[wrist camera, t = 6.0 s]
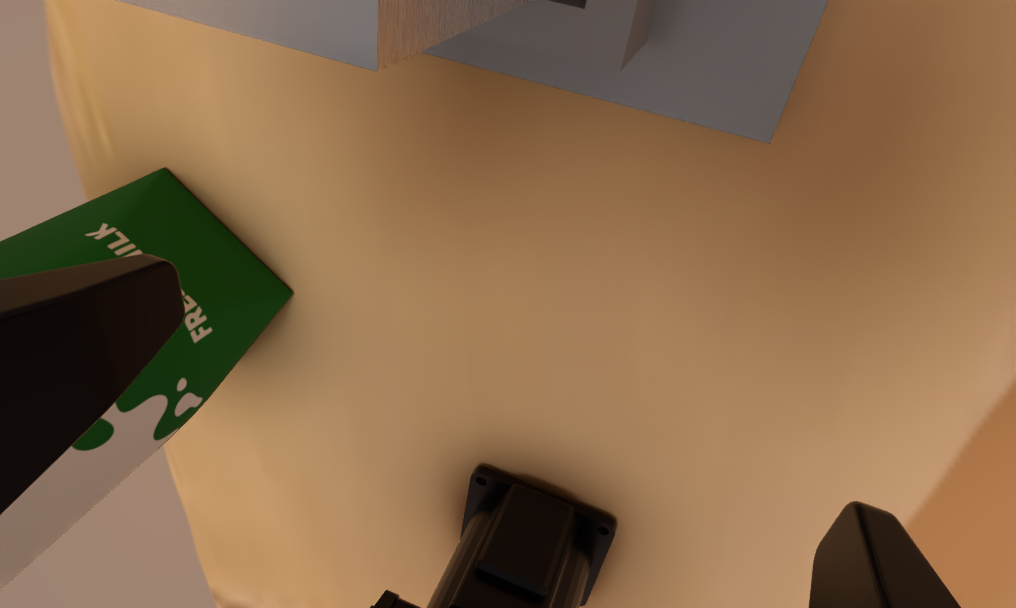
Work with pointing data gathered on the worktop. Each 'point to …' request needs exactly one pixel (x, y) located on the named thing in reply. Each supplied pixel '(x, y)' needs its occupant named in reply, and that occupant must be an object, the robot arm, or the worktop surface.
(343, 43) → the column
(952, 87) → the worktop surface
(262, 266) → the milk carton
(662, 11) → the stand
